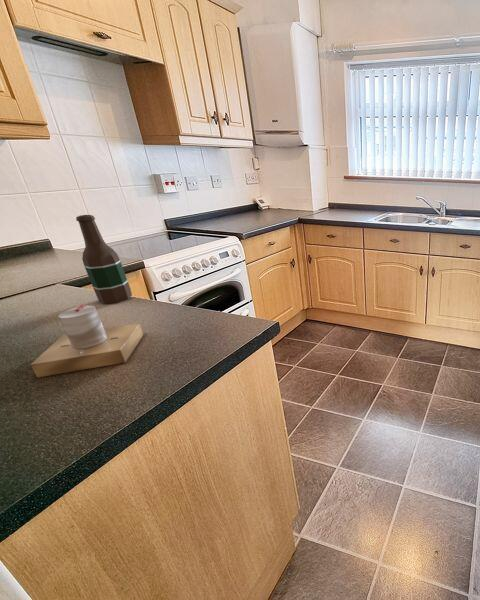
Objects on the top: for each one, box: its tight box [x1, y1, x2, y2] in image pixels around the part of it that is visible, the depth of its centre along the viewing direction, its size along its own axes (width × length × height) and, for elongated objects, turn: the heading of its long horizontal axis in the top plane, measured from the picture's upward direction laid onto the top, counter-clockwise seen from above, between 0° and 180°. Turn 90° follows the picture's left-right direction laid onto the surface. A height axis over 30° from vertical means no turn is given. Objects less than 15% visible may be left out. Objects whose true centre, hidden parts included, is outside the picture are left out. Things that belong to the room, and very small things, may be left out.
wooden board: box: [30, 323, 144, 378], centre depth 70 cm, size 14×12×3 cm
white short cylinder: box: [57, 304, 107, 349], centre depth 68 cm, size 6×6×7 cm
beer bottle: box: [75, 214, 133, 305], centre depth 93 cm, size 8×8×24 cm
